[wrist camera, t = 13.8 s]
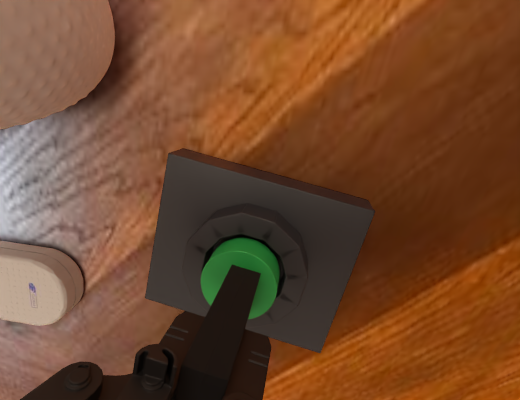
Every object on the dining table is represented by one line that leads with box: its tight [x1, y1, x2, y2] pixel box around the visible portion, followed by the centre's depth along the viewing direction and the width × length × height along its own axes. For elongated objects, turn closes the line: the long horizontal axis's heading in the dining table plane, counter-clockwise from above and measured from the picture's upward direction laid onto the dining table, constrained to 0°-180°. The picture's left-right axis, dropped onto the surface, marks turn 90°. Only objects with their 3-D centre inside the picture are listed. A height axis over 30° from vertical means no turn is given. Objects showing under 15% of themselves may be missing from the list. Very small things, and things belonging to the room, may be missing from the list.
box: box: [145, 149, 375, 353], centre depth 20 cm, size 12×10×4 cm
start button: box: [201, 238, 280, 319], centre depth 17 cm, size 4×4×2 cm
